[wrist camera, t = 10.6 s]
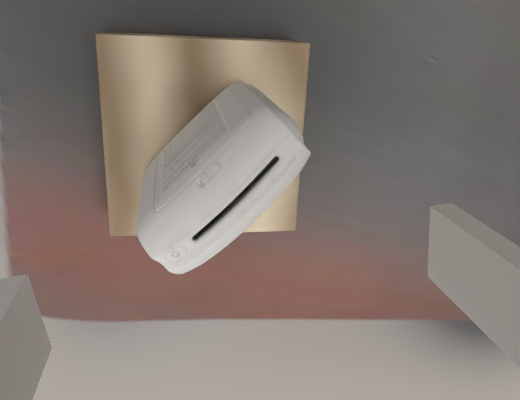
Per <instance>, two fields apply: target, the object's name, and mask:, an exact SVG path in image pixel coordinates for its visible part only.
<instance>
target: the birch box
mask: <svg viewBox="0 0 520 400" xmlns="http://www.w3.org/2000/svg"><path fill="white" fill-rule="evenodd" d="M95 36H96V50H97V63H98V77H99V91H100V104H101V118H102V132H103V145H104V159H105V173H106V186H107V200H108V214H109V227H110V236H138V235H137V232H136V225H137V219H138V211H139V205H140V198H141V191H142V184H143V175H144V173H145V171H146V169H147V168H148V166H149V165H150V163H151V162H152V161H153V160H154V158H155V157H156V156H157V155H158V154H159V153H160V152H161V151H162V150H163V148H164V147H165V146H166V145H167V144H168V143H169V142H170V141H171V140H172V139H173V138H174V137H175V136H176V135H177V134H178V133H179V132H180V131H181V130H182V129H183V128H184V127H185V126H186V125H187V124H188V123H189V122H190V121H191V120H192V119H193V118H194V117H195V116H196V115H197V114H198V113H199V112H201V111H202V110H203V109H204V108H205V107H206V106H207V105H208V103H210V102H211V101H212V100H213V99H214V98H215V97H216V96H217V95H219V94H220V93H221V92H222V91H223V90H224V89H226V88H227V87H228V86H230V85H231V84H233V83H234V82H236V81H238V80H241V81H242V82H243V83H244V84H249V85H252V86H254V87H256V88H257V89H258V90H260V91H261V92H262V93H263V94H264V95H266V96H267V97H268V98H269V99H270V100H271V101H272V102H274V103H275V104H276V105H277V106H278V107H279V108H281V109H282V110H283V111H284V112H285V113H286V114H287V115H289V116H290V117H291V118H292V119H293V120H294V121H295V122H296V124H297V125H298V127H299V129H300V131H301V133H302V136H303V127H304V114H305V102H306V89H307V77H308V64H309V52H310V43H305V42H299V41H292V40H272V39H250V38H227V37H204V36H182V35H159V34H137V33H114V32H105V33H98V34H95ZM299 177H300V172H299V174H298V175H297V177H296V178H295V179H294V180H293V181H292V183H291V184H290V185H289V186H288V187H287V189H286V190H285V191H284V192H283V193H282V194H281V195H280V196H279V197H278V198H277V199H276V200H275V201H274V203H273V204H272V205H271V206H270V207H269V208H268V209H267V210H266V211H265V212H264V213H263V214H262V215H261V216H260V217H259V218H258V219H256V220H255V221H254V222H253V223H252V224H251V225H250V226H249V227H248V228H247V229H246V230H245V231H244V232H265V231H295V228H296V215H297V203H298V190H299Z"/></svg>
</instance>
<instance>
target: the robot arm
mask: <svg viewBox="0 0 520 400" xmlns="http://www.w3.org/2000/svg"><path fill="white" fill-rule="evenodd" d="M428 277H429V278H430V279H431V280H432V281H433V282H434V283H435V284H436V285H437V286H438V287H439V288H440V289H441V290H442V291H443V292H444V293H445V294H446V295H447V296H448V297H449V298H450V299H451V300H452V301H453V302H454V303H455V304H456V305H457V306H458V307H459V308H460V309H461V310H462V311H463V312H464V313H465V314H466V315H467V316H468V317H469V318H470V319H471V320H472V321H473V322H474V323H475V324H476V325H477V326H478V327H479V328H480V329H481V330H482V331H483V332H484V333H485V334H487V336H488V337H489V338H490V339H491V340H492V341H493V342H494V343H495V344H496V345H497V346H498V347H499V348H500V349H501V350H502V351H503V352H504V353H505V354H506V355H507V356H508V357H509V358H510V359H511V360H512V361H513V362H514V363H515V364H517V366H519V368H520V247H519V246H517V245H516V244H514V243H513V242H511V241H510V240H508V239H507V238H505V237H503V236H502V235H500V234H499V233H497V232H496V231H494V230H493V229H491V228H490V227H488V226H486V225H485V224H483V223H482V222H480V221H479V220H477V219H476V218H474V217H473V216H471V215H469V214H468V213H466V212H465V211H463V210H462V209H460V208H459V207H457V206H455V205H454V204H452V203H447V204H441V205H436V206H430V230H429V254H428ZM50 350H51V344H50V341H49V338H48V335H47V332H46V329H45V326H44V323H43V320H42V317H41V314H40V311H39V308H38V305H37V302H36V299H35V295H34V292H33V289H32V286H31V283H30V280H29V277H28V274H26V275H21V276H15V277H9V278H3V279H1V280H0V400H32V399H33V396H34V394H35V391H36V388H37V385H38V383H39V380H40V377H41V374H42V372H43V369H44V366H45V364H46V361H47V358H48V356H49V353H50Z"/></svg>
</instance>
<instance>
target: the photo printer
mask: <svg viewBox="0 0 520 400" xmlns="http://www.w3.org/2000/svg"><path fill="white" fill-rule="evenodd" d="M310 155H311V152H310V151H309V150H308V149H307V147H306V146H305V145H304V141H303V136H302V133H301V131H300V129H299V127H298V125H297V124H296V122H295V121H294V120H293V119H292V118H291V117H290V116H289V115H287V114H286V113H285V112H284V111H283V110H282V109H281V108H279V107H278V106H277V105H276V104H275V103H274V102H272V101H271V100H270V99H269V98H268V97H267V96H266V95H264V94H263V93H262V92H261V91H260V90H258V89H257V88H256V87H254V86H252V85H249V84H244V83H243V82H242V81H241V80H238V81H236V82H234V83H233V84H231V85H230V86H228V87H227V88H226V89H224V90H223V91H222V92H221V93H220V94H219V95H217V96H216V97H215V98H214V99H213V100H212V101H211V102H210V103H208V105H207V106H206V107H205V108H204V109H203V110H202V111H201V112H199V113H198V114H197V115H196V116H195V117H194V118H193V119H192V120H191V121H190V122H189V123H188V124H187V125H186V126H185V127H184V128H183V129H182V130H181V131H180V132H179V133H178V134H177V135H176V136H175V137H174V138H173V139H172V140H171V141H170V142H169V143H168V144H167V145H166V146H165V147H164V148H163V150H162V151H161V152H160V153H159V154H158V155H157V156H156V157H155V158H154V160H153V161H152V162H151V163H150V165H149V166H148V168H147V169H146V171H145V173H144V175H143V184H142V191H141V198H140V205H139V211H138V219H137V225H136V232H137V235H138V238H139V240H140V243H141V244H142V246H143V248H144V249H145V251H146V252H147V253H148V255H149V256H150V257H151V258H152V259H153V260H155V261H157V262H159V263H161V264H162V265H163V266H164V267H165V268H166V269H167V270H168V271H169V272H171V273H175V274H183V273H185V272H188V271H190V270H192V269H194V268H196V267H198V266H200V265H201V264H203V263H204V262H206V261H207V260H209V259H210V258H212V257H213V256H214V255H216V254H217V253H218V252H220V251H221V250H222V249H223V248H225V247H226V246H227V245H228V244H230V243H231V242H232V241H233V240H234V239H236V238H237V237H238V236H239V235H240V234H241V233H242V232H244V231H245V230H246V229H247V228H248V227H249V226H250V225H251V224H252V223H253V222H254V221H255V220H256V219H258V218H259V217H260V216H261V215H262V214H263V213H264V212H265V211H266V210H267V209H268V208H269V207H270V206H271V205H272V204H273V203H274V201H275V200H276V199H277V198H278V197H279V196H280V195H281V194H282V193H283V192H284V191H285V190H286V189H287V187H288V186H289V185H290V184H291V183H292V181H293V180H294V179H295V178H296V177H297V175H298V174H299V172H300V171H301V170H302V168H303V167H304V165H305V163H306V162H307V160H308V158H309V156H310Z"/></svg>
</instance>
